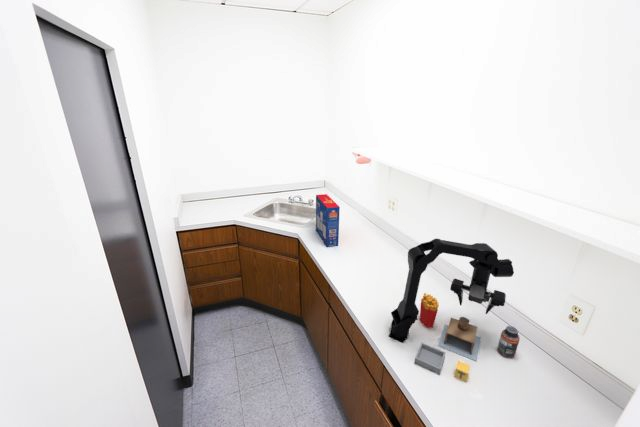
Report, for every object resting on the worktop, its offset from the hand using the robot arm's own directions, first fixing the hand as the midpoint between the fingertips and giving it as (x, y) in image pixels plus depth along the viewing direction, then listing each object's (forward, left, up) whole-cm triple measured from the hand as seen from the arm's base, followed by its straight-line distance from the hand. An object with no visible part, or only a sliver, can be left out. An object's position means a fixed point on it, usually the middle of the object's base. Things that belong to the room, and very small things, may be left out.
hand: (473, 309), depth 118 cm
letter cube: (+1, -22, -13) cm, 26 cm away
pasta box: (-98, +47, -13) cm, 109 cm away
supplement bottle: (+14, -2, -13) cm, 19 cm away
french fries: (-16, -2, -13) cm, 21 cm away
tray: (-10, -22, -13) cm, 27 cm away
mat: (-2, -6, -13) cm, 15 cm away
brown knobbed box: (-2, -6, -13) cm, 14 cm away
